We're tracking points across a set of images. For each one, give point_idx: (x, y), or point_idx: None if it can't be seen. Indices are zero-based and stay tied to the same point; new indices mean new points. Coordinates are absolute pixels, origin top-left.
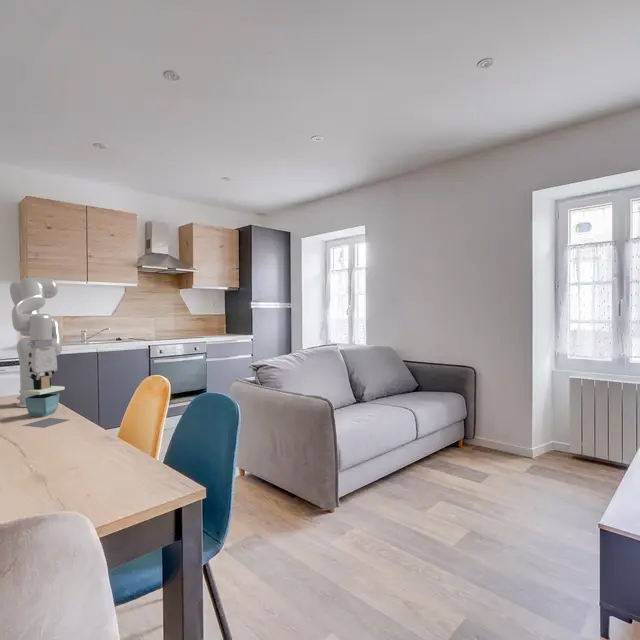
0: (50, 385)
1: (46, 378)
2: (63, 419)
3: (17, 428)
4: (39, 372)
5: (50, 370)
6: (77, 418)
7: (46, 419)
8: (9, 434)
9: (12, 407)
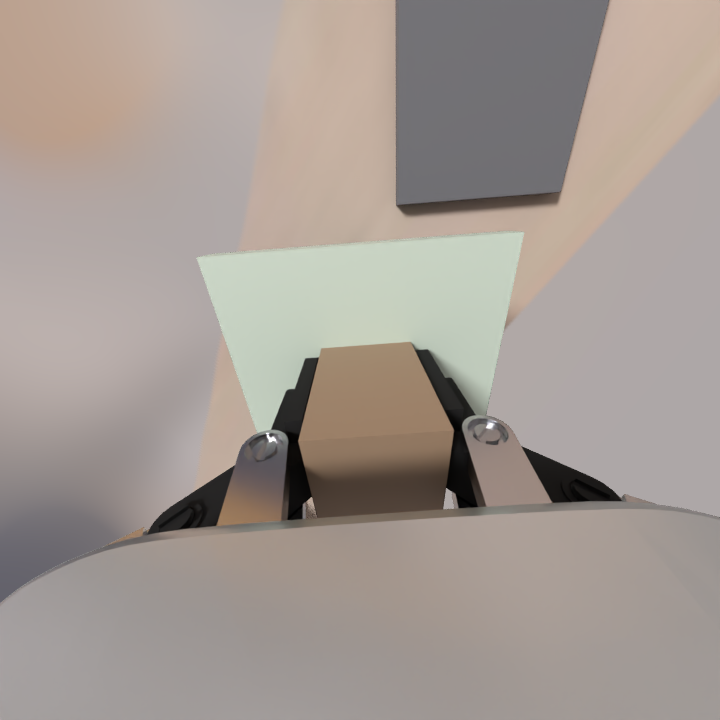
0: (306, 364)
1: (357, 411)
2: (407, 31)
3: (556, 212)
4: (595, 502)
5: (266, 525)
6: (302, 30)
7: (432, 178)
8: (673, 123)
9: (310, 518)
